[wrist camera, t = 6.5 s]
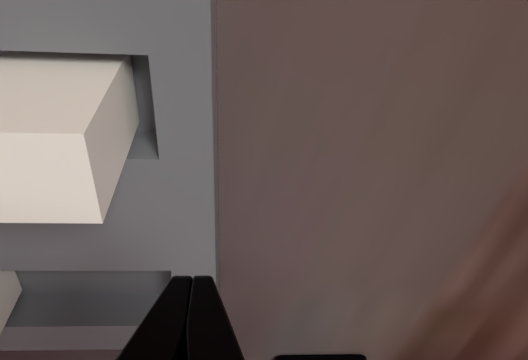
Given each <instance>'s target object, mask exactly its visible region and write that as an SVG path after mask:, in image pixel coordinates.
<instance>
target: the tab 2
mask: <svg viewBox="0 0 528 360" xmlns="http://www.w3.org/2000/svg"><path fill="white" fill-rule="evenodd" d="M138 124H139V116H138V108H137V100H136V92H135V85H134V77H133V69H132V61H131V55H127V54H95V53H62V52H30V51H6V52H5V53H4V54H2V55H1V56H0V223H89V224H103V222H104V219H105V216H106V213H107V210H108V208H109V205H110V202H111V199H112V197H113V194H114V191H115V188H116V185H117V183H118V180H119V177H120V174H121V171H122V169H123V166H124V163H125V160H126V158H127V155H128V152H129V149H130V146H131V144H132V141H133V138H134V135H135V133H136V130H137V127H138Z"/></svg>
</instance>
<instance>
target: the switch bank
mask: <svg viewBox="0 0 528 360" xmlns="http://www.w3.org/2000/svg"><path fill="white" fill-rule="evenodd" d="M6 51H30V52H62V53H95V54H127V55H131V61H132V69H133V77H134V85H135V92H136V100H137V108H138V116H139V124H138V127H137V130H136V133H135V135H134V138H133V141H132V144H131V146H130V149H129V152H128V155H127V158H126V160H125V163H124V166H123V169H122V171H121V174H120V177H119V180H118V183H117V185H116V188H115V191H114V194H113V197H112V199H111V202H110V205H109V208H108V210H107V213H106V216H105V219H104V222H103V224H89V223H0V271H15V272H16V275H17V277H18V280H19V282H20V285H21V287H22V291H21V293H20V295H19V298H18V300H17V302H16V304H15V306H14V308H13V310H12V312H11V314H10V316H9V318H8V320H7V322H6V324H5V326H4V328H3V330H2V332H1V335H0V351H40V350H122V349H123V348H124V346H125V345H126V343H127V342H128V340H129V339H130V337H131V336H132V334H133V333H134V331H135V330H136V329H137V327H138V326H139V324H140V323H141V321H142V320H143V318H144V317H145V315H146V314H147V312H148V311H149V309H150V308H151V306H152V305H153V303H154V302H155V301H156V299H157V298H158V296H159V295H160V293H161V292H162V290H163V289H164V287H165V286H166V284H167V283H168V281H169V280H170V279H171V277H173V276H176V275H189V276H191V277H192V278H193V277H194V276H196V275H209V276H212V278H213V279H214V282H215V284H216V287H217V290H218V292H219V294H220V271H219V189H218V107H217V25H216V0H0V56H1V55H2V54H4V53H5V52H6Z"/></svg>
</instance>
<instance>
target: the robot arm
mask: <svg viewBox="0 0 528 360" xmlns="http://www.w3.org/2000/svg"><path fill="white" fill-rule="evenodd" d="M115 360H245V359H244V357H243V354H242V352H241V349H240V346H239V344H238V341H237V339H236V336H235V334H234V331H233V328H232V326H231V323H230V321H229V318H228V315H227V313H226V310H225V308H224V305H223V303H222V300H221V297H220V295H219V292H218V290H217V287H216V284H215V282H214V279H213V278H212V276H209V275H196V276H194V277H193V278H192V277H191V276H189V275H176V276H173V277H171V279H170V280H169V281H168V283H167V284H166V286H165V287H164V289H163V290H162V292H161V293H160V295H159V296H158V298H157V299H156V301H155V302H154V303H153V305H152V306H151V308H150V309H149V311H148V312H147V314H146V315H145V317H144V318H143V320H142V321H141V323H140V324H139V326H138V327H137V329H136V330H135V331H134V333H133V334H132V336H131V337H130V339H129V340H128V342H127V343H126V345H125V346H124V348H123V349H122V351H121V352H120V354H119V355H118V356H117V358H116V359H115ZM275 360H367V359H366V357H365V356H363V355H336V356H279V357H277V358H276V359H275Z"/></svg>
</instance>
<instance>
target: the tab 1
mask: <svg viewBox="0 0 528 360" xmlns="http://www.w3.org/2000/svg"><path fill="white" fill-rule="evenodd" d="M21 291H22V287H21V285H20V282H19V280H18V277H17V275H16V272H15V271H0V335H1V332H2V330H3V328H4V326H5V324H6V322H7V320H8V318H9V316H10V314H11V312H12V310H13V308H14V306H15V304H16V302H17V300H18V298H19V295H20V293H21Z"/></svg>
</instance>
